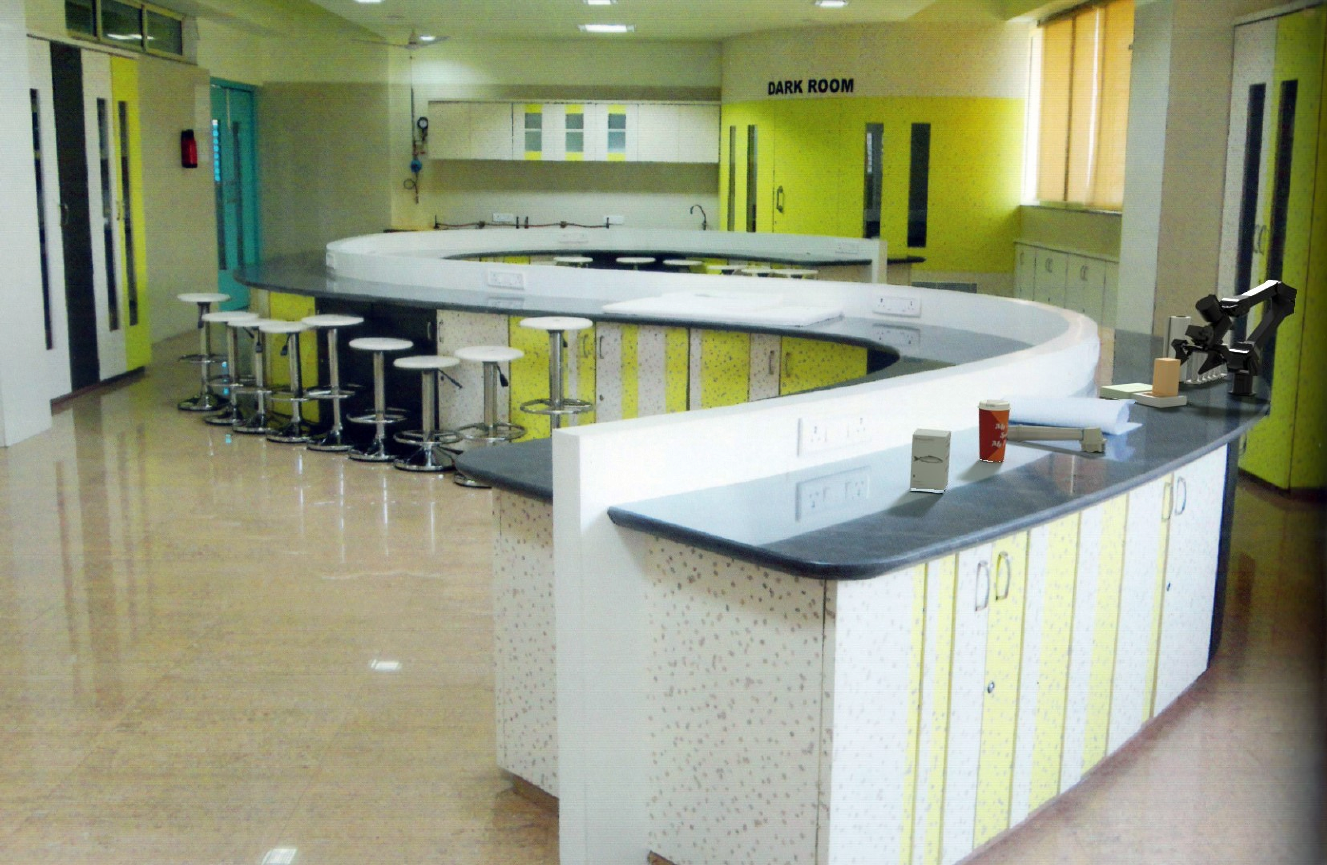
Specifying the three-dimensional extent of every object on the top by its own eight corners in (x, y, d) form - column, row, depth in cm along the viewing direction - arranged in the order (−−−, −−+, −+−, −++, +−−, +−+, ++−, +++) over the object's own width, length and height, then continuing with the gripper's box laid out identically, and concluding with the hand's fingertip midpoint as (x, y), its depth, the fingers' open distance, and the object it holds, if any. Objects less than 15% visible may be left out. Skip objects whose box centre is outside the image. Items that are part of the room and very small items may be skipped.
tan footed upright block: (1163, 400, 358) (1166, 357, 355) (1176, 403, 353) (1180, 359, 351) (1146, 402, 355) (1149, 359, 352) (1159, 405, 350) (1163, 361, 348)
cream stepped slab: (1137, 392, 372) (1138, 382, 371) (1195, 403, 353) (1196, 393, 352) (1099, 396, 365) (1100, 386, 365) (1156, 408, 346) (1157, 397, 345)
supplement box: (908, 492, 253) (911, 434, 250) (914, 484, 260) (916, 427, 257) (944, 495, 250) (946, 436, 248) (949, 486, 257) (951, 429, 254)
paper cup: (1003, 465, 276) (1006, 406, 274) (970, 461, 280) (973, 402, 278) (1012, 458, 283) (1015, 400, 280) (980, 455, 287) (983, 397, 284)
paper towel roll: (1187, 380, 395) (1192, 315, 390) (1184, 382, 390) (1189, 317, 385) (1164, 378, 398) (1169, 314, 394) (1160, 381, 393) (1165, 316, 389)
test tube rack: (1197, 385, 386) (1200, 344, 383) (1183, 383, 389) (1186, 343, 386) (1226, 376, 403) (1230, 337, 400) (1213, 375, 406) (1216, 336, 403)
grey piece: (1011, 423, 306) (1108, 421, 290) (1013, 448, 307) (1110, 448, 291) (1002, 426, 302) (1100, 425, 286) (1004, 452, 303) (1102, 452, 287)
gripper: (1177, 312, 363) (1148, 351, 361) (1229, 318, 347) (1199, 359, 344) (1193, 335, 368) (1165, 374, 366) (1245, 342, 352) (1216, 383, 349)
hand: (1185, 372), depth 356 cm, fingers open, 9 cm apart
